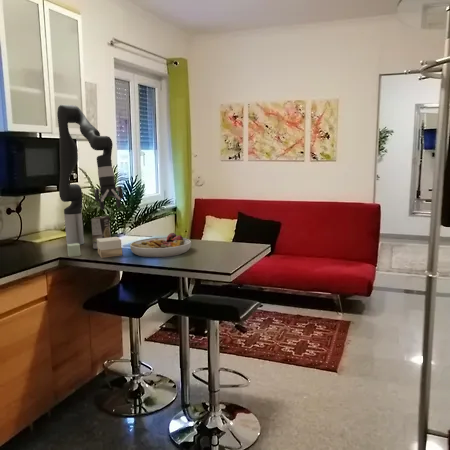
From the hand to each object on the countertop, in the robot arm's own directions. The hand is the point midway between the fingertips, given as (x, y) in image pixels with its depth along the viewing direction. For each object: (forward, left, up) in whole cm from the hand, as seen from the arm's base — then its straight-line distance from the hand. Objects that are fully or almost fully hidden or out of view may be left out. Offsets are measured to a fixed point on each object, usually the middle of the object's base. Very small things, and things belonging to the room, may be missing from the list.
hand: (110, 208), depth 232 cm
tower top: (+7, -3, -18) cm, 20 cm away
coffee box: (-15, -3, -22) cm, 27 cm away
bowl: (+14, +21, -22) cm, 34 cm away
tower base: (+7, -3, -22) cm, 24 cm away
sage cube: (-1, -19, -22) cm, 29 cm away
